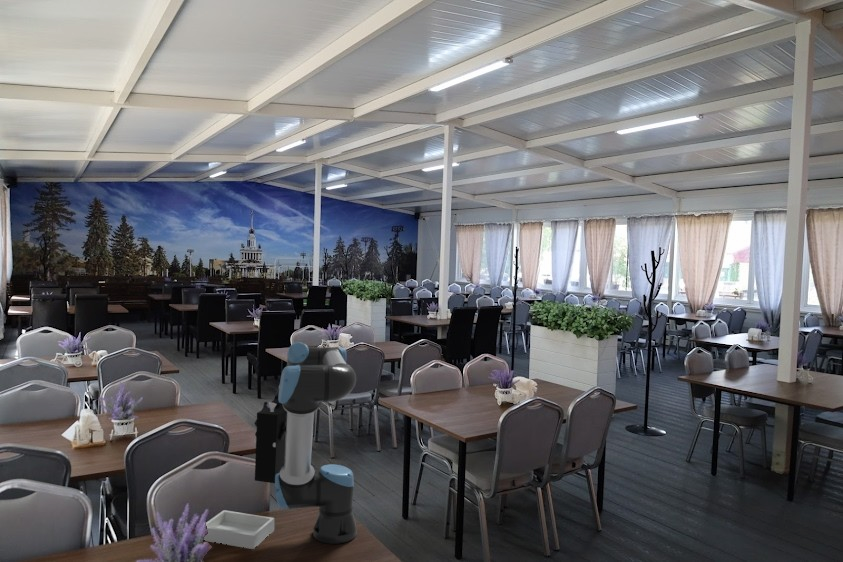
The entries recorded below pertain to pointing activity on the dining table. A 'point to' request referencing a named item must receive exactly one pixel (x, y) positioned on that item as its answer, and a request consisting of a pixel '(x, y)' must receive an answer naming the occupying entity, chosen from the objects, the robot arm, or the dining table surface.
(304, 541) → the dining table surface
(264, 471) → the black tall block
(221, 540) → the tray
